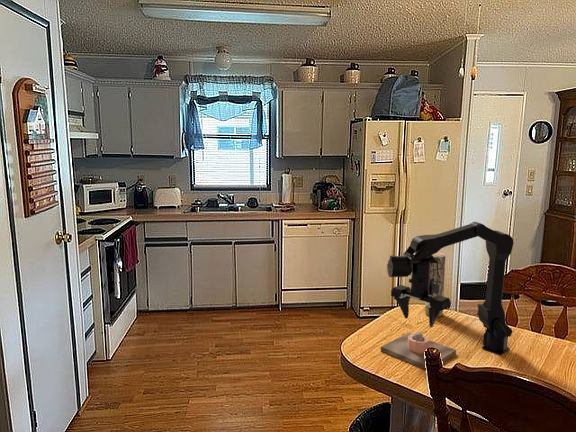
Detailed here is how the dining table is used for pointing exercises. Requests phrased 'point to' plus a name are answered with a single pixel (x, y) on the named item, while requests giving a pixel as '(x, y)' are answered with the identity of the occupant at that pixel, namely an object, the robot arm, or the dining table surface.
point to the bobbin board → (402, 352)
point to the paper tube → (437, 277)
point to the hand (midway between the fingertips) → (418, 322)
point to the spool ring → (418, 344)
